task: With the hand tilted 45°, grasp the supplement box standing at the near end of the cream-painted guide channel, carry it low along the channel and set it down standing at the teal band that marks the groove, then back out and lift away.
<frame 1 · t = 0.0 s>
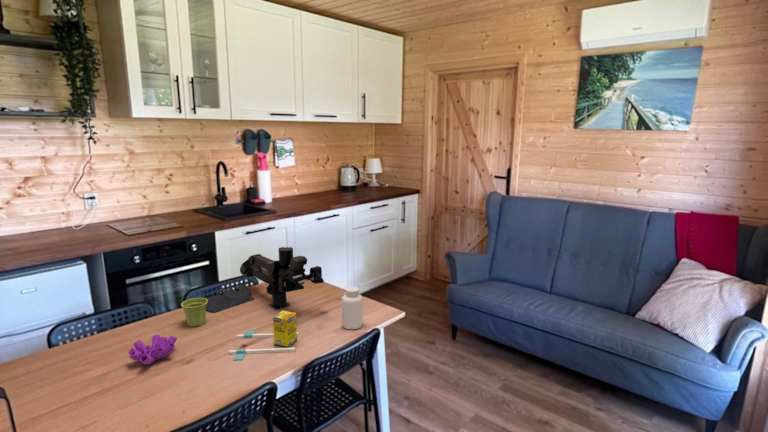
hand: (313, 284, 161), 17 cm above the table, tool horizontal, fingers open, 9 cm apart
purple coral: (155, 358, 140), on the table
dark slate chunk: (226, 302, 186), on the table
plant pot: (196, 323, 165), on the table
pill bottle: (352, 325, 164), on the table
channel: (265, 344, 149), on the table
supplement box: (285, 344, 150), on the table
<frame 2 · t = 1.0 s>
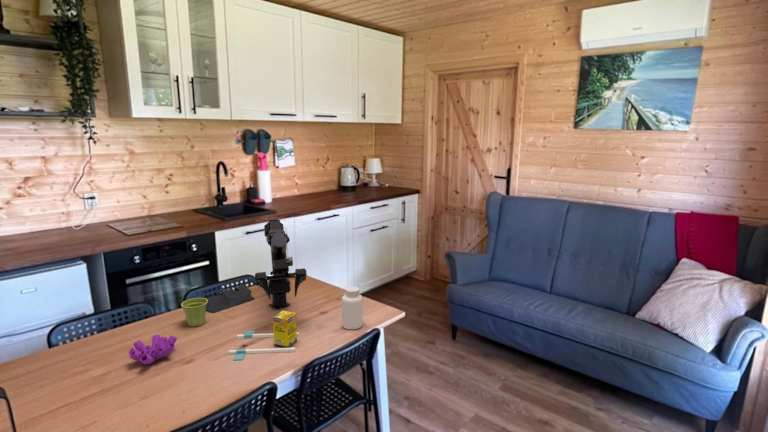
hand: (282, 297, 155), 14 cm above the table, tool tilted 45°, fingers open, 9 cm apart
nothing on the table moved.
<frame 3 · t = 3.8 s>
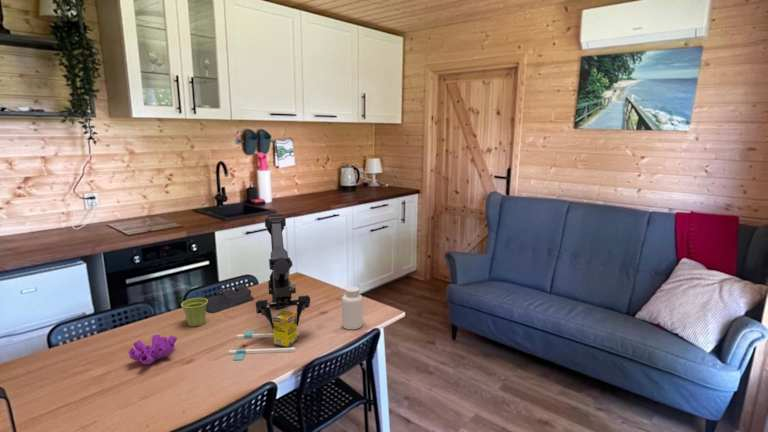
hand: (285, 327, 147), 7 cm above the table, tool tilted 45°, fingers closed on supplement box, 8 cm apart
supplement box: (285, 343, 150), on the table, touching gripper
everything else where it was.
when the fingers open (7 cm above the table, at t = 7.6 s): supplement box stays where it is, on the table.
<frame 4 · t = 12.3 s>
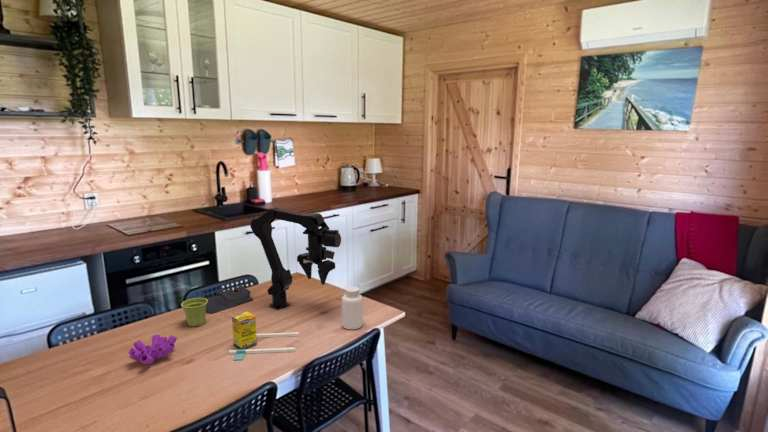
hand: (316, 281, 174), 13 cm above the table, tool pointing down, fingers open, 9 cm apart
supplement box: (245, 345, 149), on the table
at the end: supplement box 0.2 cm from the target spot, on the table; supplement box tilted 0°; the gripper is holding nothing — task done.
